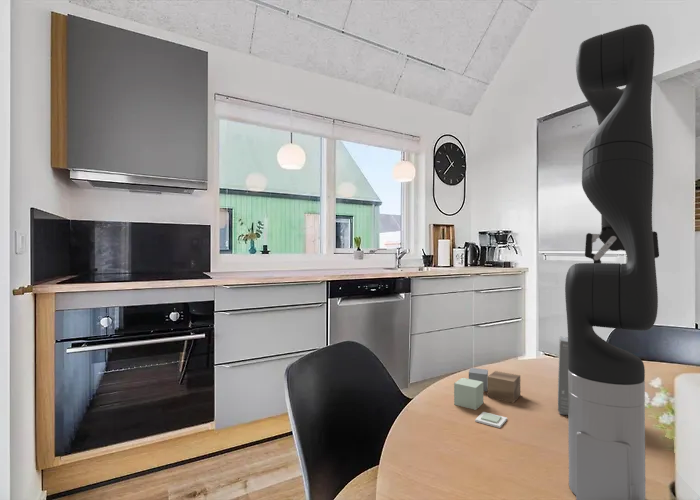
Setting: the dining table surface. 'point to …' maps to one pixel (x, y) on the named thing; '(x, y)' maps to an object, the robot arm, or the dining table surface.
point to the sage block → (468, 393)
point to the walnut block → (504, 386)
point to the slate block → (479, 376)
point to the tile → (491, 419)
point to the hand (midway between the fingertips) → (620, 276)
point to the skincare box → (563, 376)
